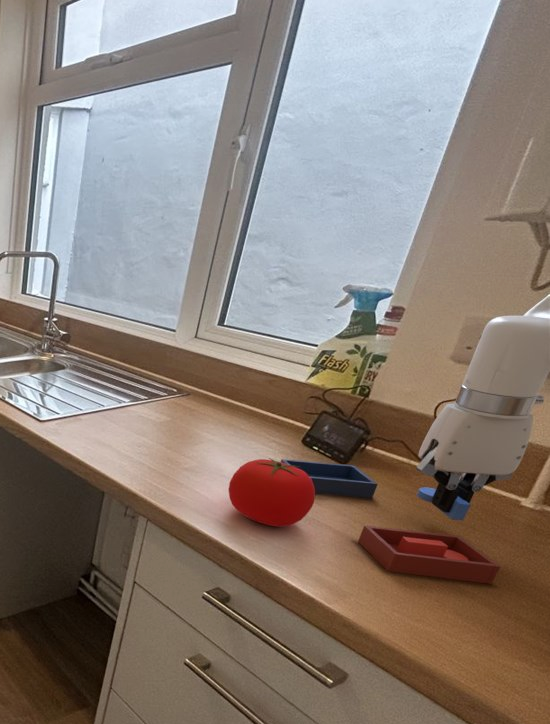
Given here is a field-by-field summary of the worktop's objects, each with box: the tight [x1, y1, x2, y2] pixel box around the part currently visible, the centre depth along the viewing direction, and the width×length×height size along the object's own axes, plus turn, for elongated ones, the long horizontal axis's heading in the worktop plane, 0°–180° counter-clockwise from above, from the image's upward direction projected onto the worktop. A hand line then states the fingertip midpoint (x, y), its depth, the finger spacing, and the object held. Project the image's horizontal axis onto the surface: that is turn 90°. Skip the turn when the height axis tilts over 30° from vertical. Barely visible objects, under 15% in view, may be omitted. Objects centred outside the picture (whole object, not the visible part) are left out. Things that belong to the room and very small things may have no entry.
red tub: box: [357, 525, 501, 585], centre depth 78 cm, size 12×8×3 cm, turn 76°
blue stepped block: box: [416, 486, 472, 522], centre depth 85 cm, size 8×3×3 cm, turn 166°
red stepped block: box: [397, 537, 469, 561], centre depth 78 cm, size 8×3×3 cm, turn 76°
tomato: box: [228, 457, 316, 527], centre depth 88 cm, size 11×12×10 cm
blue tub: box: [280, 458, 379, 499], centre depth 100 cm, size 12×8×3 cm, turn 76°
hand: (447, 508), depth 85 cm, fingers closed on blue stepped block, 1 cm apart
